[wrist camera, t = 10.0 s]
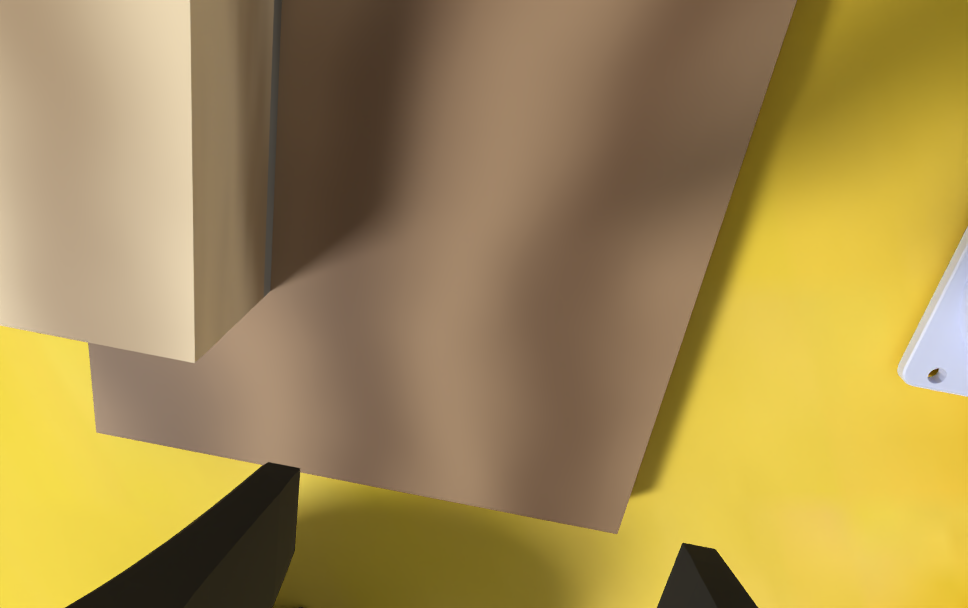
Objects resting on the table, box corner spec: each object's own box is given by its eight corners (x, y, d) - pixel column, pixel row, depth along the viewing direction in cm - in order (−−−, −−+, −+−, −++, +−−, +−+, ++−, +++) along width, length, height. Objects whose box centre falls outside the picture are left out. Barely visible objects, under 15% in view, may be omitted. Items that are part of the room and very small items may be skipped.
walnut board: (863, -269, 14) (898, -302, 13) (612, 504, 23) (617, 533, 21) (66, -416, 14) (14, -465, 13) (123, 408, 23) (96, 432, 22)
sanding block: (283, -48, 15) (188, -77, 11) (270, 291, 19) (195, 363, 15) (56, -91, 15) (-121, -136, 11) (87, 255, 19) (-40, 317, 15)
